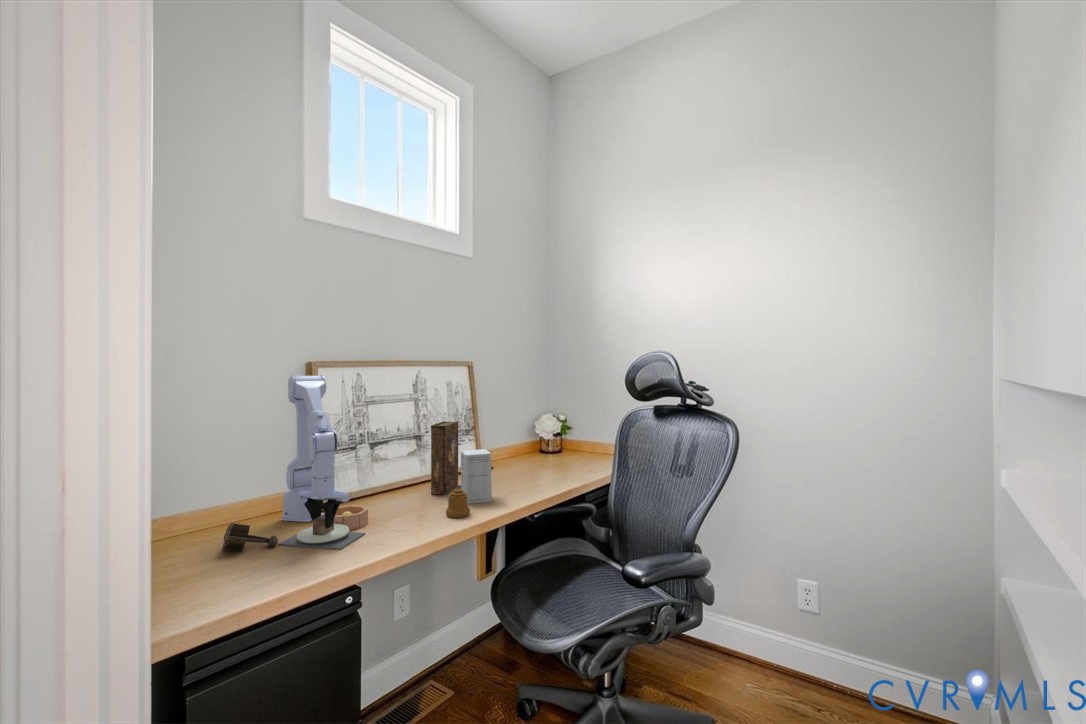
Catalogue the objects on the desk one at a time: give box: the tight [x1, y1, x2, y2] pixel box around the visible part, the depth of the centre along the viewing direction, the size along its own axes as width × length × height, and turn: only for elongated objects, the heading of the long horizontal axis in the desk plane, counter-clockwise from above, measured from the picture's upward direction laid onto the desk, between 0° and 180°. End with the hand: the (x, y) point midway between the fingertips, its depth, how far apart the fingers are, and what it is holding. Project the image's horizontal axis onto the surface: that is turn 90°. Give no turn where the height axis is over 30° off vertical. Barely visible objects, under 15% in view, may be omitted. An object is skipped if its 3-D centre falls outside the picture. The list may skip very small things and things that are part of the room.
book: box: [430, 420, 459, 496], centre depth 191 cm, size 16×6×25 cm, turn 172°
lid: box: [297, 513, 350, 543], centre depth 137 cm, size 13×13×5 cm
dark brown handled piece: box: [221, 522, 279, 552], centre depth 130 cm, size 7×13×10 cm
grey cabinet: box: [460, 448, 493, 505], centre depth 177 cm, size 10×9×17 cm
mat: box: [277, 531, 366, 551], centre depth 137 cm, size 18×12×1 cm, turn 79°
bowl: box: [334, 504, 369, 531], centre depth 150 cm, size 11×11×4 cm
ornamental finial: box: [445, 488, 471, 519], centre depth 159 cm, size 8×8×8 cm
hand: (323, 526), depth 137 cm, fingers closed on lid, 3 cm apart
